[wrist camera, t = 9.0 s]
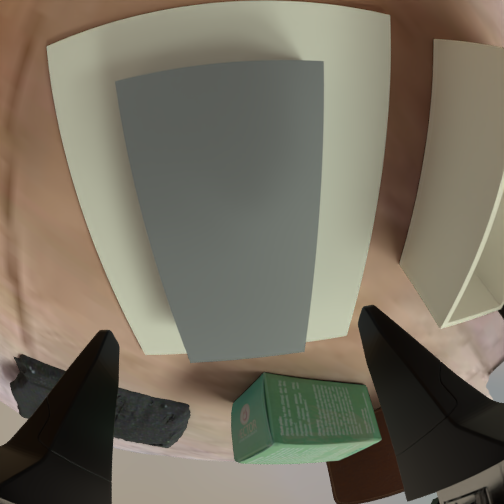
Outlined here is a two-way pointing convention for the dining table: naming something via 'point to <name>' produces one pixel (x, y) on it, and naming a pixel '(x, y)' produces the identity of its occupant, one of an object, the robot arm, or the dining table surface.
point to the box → (301, 421)
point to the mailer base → (461, 187)
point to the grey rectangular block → (230, 198)
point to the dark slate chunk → (127, 407)
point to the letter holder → (367, 471)
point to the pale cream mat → (221, 51)
